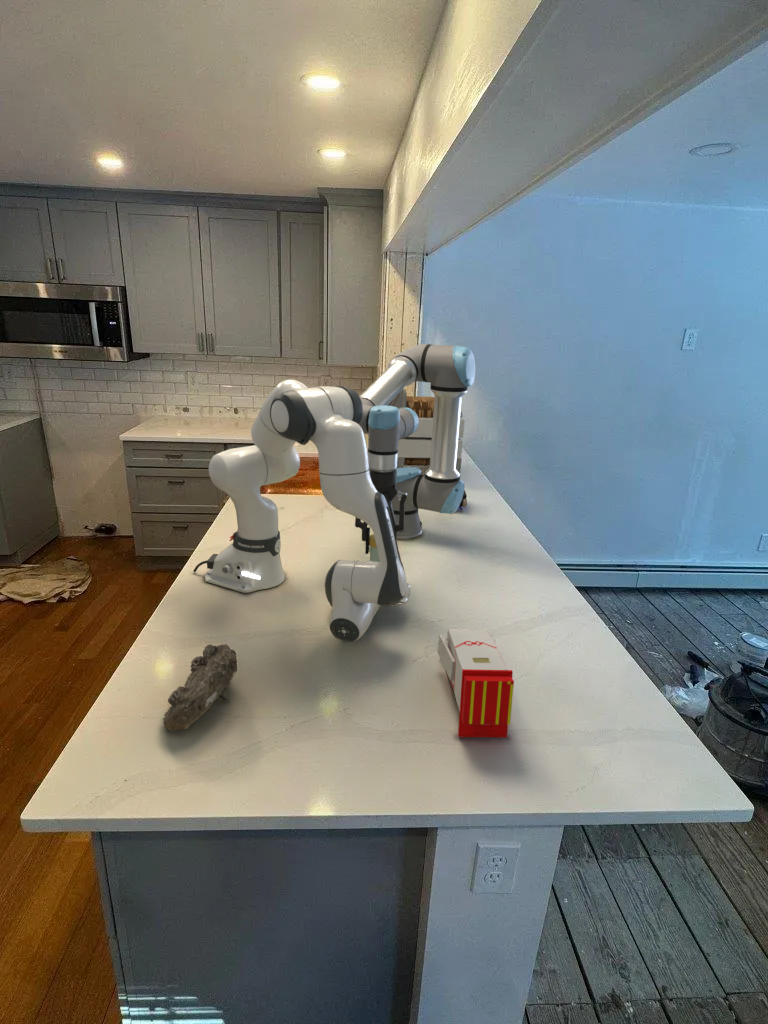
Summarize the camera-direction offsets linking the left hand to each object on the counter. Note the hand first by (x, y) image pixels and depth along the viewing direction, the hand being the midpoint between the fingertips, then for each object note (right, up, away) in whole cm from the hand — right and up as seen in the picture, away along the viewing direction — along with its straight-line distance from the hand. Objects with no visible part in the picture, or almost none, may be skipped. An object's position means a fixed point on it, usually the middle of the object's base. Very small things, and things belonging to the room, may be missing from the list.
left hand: (378, 575), depth 154 cm
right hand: (0, +7, -3) cm, 7 cm away
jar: (0, -6, +1) cm, 6 cm away
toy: (+19, -20, -35) cm, 45 cm away
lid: (0, +10, -5) cm, 11 cm away
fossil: (-34, -20, -41) cm, 57 cm away
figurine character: (+31, +19, +75) cm, 84 cm away
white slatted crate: (+19, +36, +121) cm, 128 cm away
